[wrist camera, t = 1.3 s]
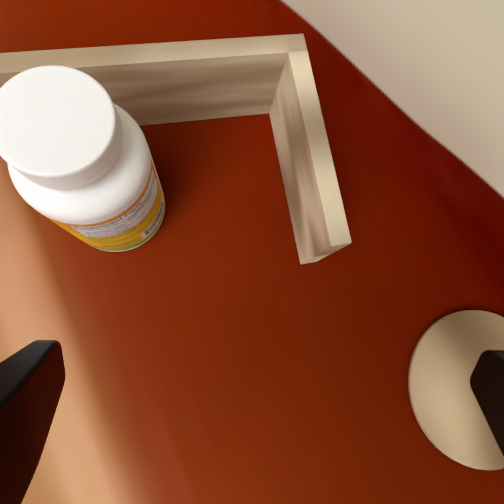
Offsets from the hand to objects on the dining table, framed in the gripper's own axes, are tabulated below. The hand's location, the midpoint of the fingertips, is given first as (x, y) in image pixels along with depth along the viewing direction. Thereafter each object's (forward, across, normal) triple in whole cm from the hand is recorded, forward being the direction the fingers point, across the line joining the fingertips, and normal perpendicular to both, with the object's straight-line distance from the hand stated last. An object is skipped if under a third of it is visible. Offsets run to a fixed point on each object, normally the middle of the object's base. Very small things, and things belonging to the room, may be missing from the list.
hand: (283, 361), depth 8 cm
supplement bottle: (+15, +7, +2) cm, 17 cm away
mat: (+9, -15, +10) cm, 20 cm away
